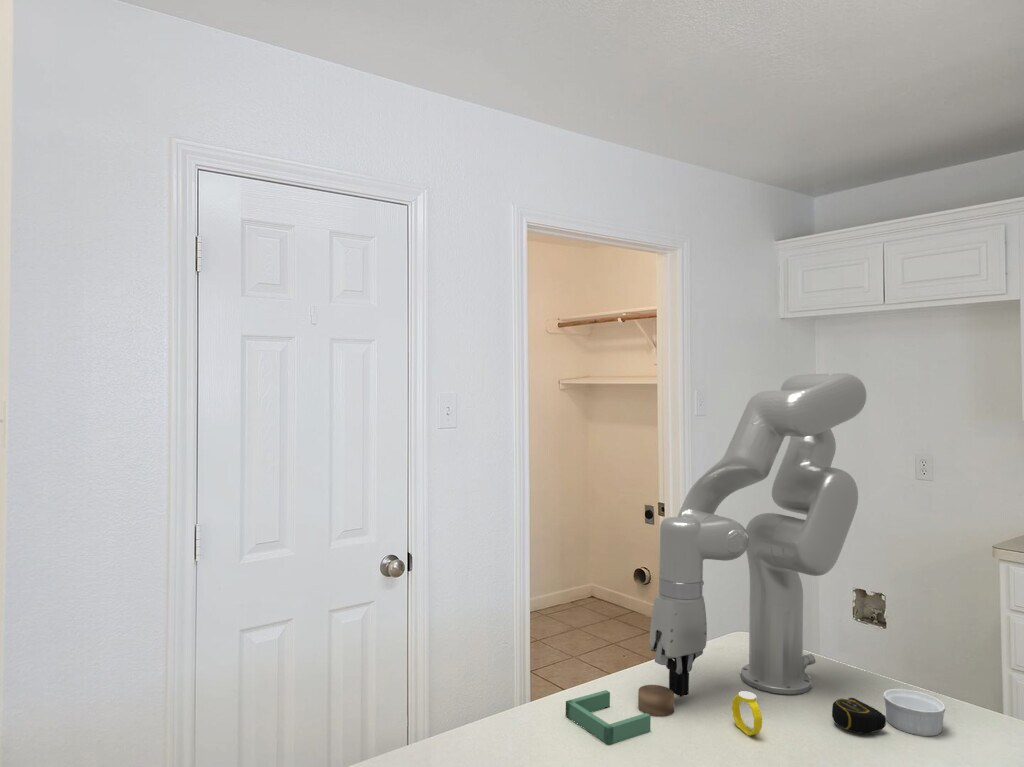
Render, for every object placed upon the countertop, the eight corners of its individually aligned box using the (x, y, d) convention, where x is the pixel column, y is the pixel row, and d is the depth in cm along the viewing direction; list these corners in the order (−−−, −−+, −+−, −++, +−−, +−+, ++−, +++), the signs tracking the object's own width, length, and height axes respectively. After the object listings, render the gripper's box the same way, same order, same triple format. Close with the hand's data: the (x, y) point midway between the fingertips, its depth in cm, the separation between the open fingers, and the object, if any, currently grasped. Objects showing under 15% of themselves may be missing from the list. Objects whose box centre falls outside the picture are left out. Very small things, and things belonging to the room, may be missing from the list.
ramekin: (892, 708, 120) (893, 683, 120) (951, 726, 113) (951, 700, 113) (875, 725, 113) (875, 698, 113) (936, 745, 107) (937, 716, 107)
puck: (656, 699, 122) (656, 682, 122) (681, 712, 117) (681, 694, 117) (631, 706, 119) (631, 689, 119) (655, 720, 114) (655, 702, 114)
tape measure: (888, 735, 110) (888, 712, 110) (854, 741, 108) (854, 717, 108) (855, 716, 116) (855, 694, 116) (822, 721, 114) (822, 698, 114)
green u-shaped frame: (606, 704, 119) (606, 690, 119) (650, 731, 110) (650, 715, 110) (565, 716, 114) (565, 701, 114) (608, 744, 105) (608, 728, 105)
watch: (727, 724, 113) (728, 687, 113) (741, 722, 113) (742, 685, 114) (751, 741, 107) (751, 703, 107) (766, 739, 108) (766, 701, 108)
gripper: (694, 578, 128) (692, 677, 128) (634, 588, 120) (632, 693, 120) (726, 588, 122) (724, 692, 122) (664, 599, 114) (662, 710, 114)
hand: (678, 692), depth 121 cm, fingers closed
